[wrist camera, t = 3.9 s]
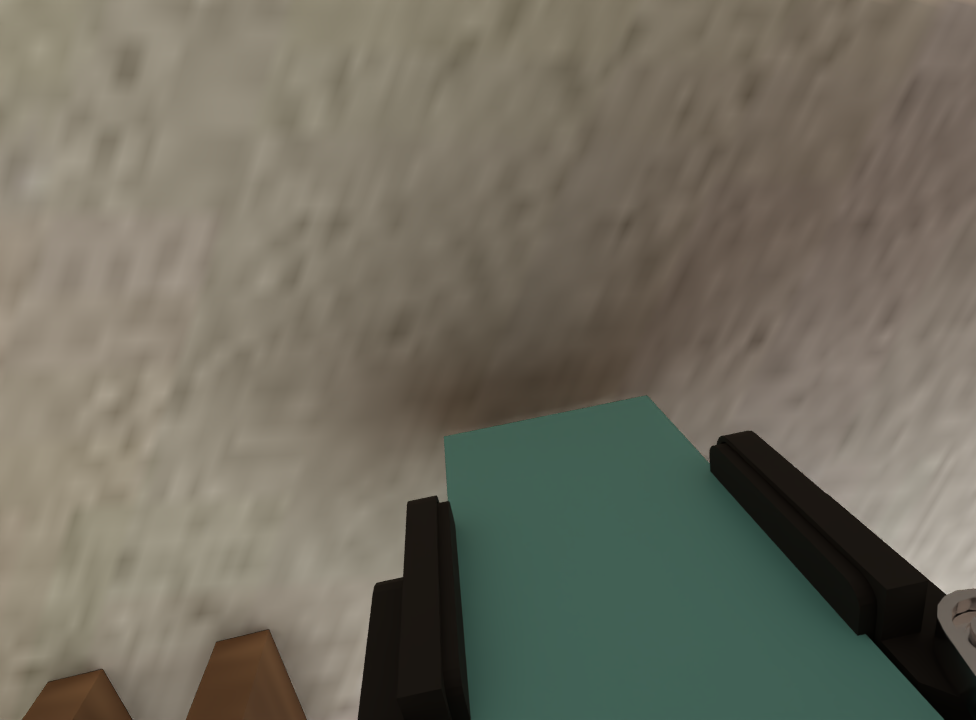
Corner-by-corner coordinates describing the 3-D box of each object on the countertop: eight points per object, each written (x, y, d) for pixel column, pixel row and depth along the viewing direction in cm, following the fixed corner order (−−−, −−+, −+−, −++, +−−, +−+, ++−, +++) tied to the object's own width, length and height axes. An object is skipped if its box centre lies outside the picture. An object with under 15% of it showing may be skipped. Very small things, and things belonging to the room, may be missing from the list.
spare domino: (443, 436, 13) (485, 1110, 4) (647, 395, 13) (1149, 943, 4) (456, 492, 14) (520, 1195, 4) (650, 451, 14) (1099, 1046, 5)
